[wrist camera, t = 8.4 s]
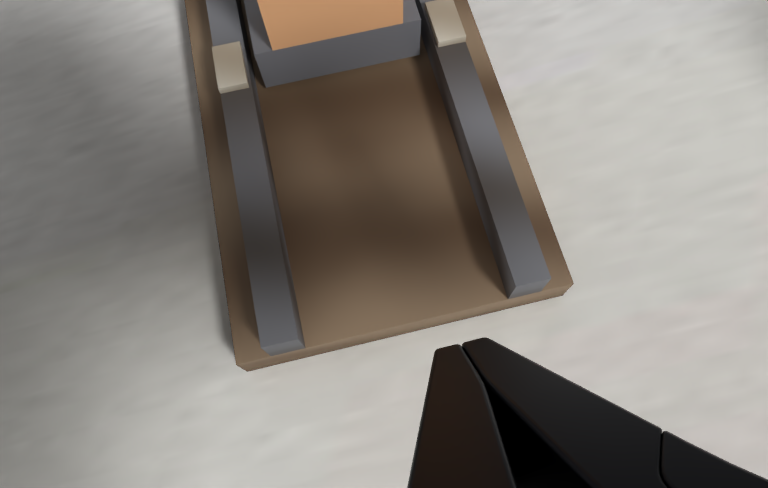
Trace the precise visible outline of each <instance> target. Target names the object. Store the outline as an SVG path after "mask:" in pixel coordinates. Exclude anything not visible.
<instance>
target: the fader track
mask: <svg viewBox="0 0 768 488" xmlns="http://www.w3.org/2000/svg"><path fill="white" fill-rule="evenodd" d="M415 3H416V6H417V9H418V12H419V15H420V18H421V34H420V55H417V56H412V57H408V58H403V59H398V60H394V61H389V62H384V63H380V64H375V65H370V66H366V67H361V68H356V69H352V70H347V71H342V72H337V73H333V74H328V75H323V76H319V77H314V78H309V79H305V80H300V81H295V82H291V83H286V84H281V85H277V86H272V87H267V88H266V86H265V84H264V81H263V78H262V75H261V72H260V70H259V67H258V64H257V61H256V59H255V56H254V52H253V46H252V41H251V36H250V30H249V25H248V20H247V15H246V9H245V4H244V0H185V6H186V13H187V20H188V27H189V34H190V41H191V48H192V55H193V62H194V70H195V77H196V84H197V91H198V98H199V105H200V112H201V119H202V126H203V133H204V140H205V148H206V155H207V162H208V169H209V176H210V183H211V190H212V197H213V204H214V211H215V218H216V225H217V233H218V240H219V247H220V254H221V261H222V268H223V275H224V282H225V289H226V296H227V303H228V310H229V318H230V325H231V332H232V339H233V346H234V353H235V360H236V365H237V366H239V367H241V368H242V369H244V370H246V371H252V370H256V369H260V368H264V367H268V366H272V365H276V364H281V363H285V362H289V361H293V360H297V359H301V358H305V357H309V356H314V355H318V354H322V353H326V352H330V351H334V350H338V349H343V348H347V347H351V346H355V345H359V344H363V343H367V342H372V341H376V340H380V339H384V338H388V337H392V336H396V335H401V334H405V333H409V332H413V331H417V330H421V329H425V328H429V327H434V326H438V325H442V324H446V323H450V322H454V321H458V320H463V319H467V318H471V317H475V316H479V315H483V314H487V313H492V312H496V311H500V310H504V309H508V308H512V307H516V306H520V305H525V304H529V303H533V302H537V301H541V300H545V299H549V298H554V297H558V296H562V295H563V294H564V293H565V292H566V291H567V290H568V289H569V288H570V287H571V286H572V285H573V284H574V283H573V280H572V278H571V275H570V272H569V270H568V267H567V264H566V262H565V259H564V257H563V254H562V251H561V249H560V246H559V243H558V241H557V238H556V235H555V233H554V230H553V227H552V225H551V222H550V219H549V217H548V214H547V211H546V209H545V206H544V203H543V201H542V198H541V195H540V193H539V190H538V187H537V185H536V182H535V179H534V177H533V174H532V171H531V169H530V166H529V163H528V161H527V158H526V155H525V153H524V150H523V147H522V145H521V142H520V139H519V137H518V134H517V132H516V129H515V126H514V124H513V121H512V118H511V116H510V113H509V110H508V108H507V105H506V102H505V100H504V97H503V94H502V92H501V89H500V86H499V84H498V81H497V78H496V76H495V73H494V70H493V68H492V65H491V62H490V60H489V57H488V54H487V52H486V49H485V46H484V44H483V41H482V38H481V36H480V33H479V30H478V28H477V25H476V22H475V20H474V17H473V15H472V12H471V9H470V7H469V4H468V1H467V0H415Z"/></svg>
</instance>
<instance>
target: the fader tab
mask: <svg viewBox="0 0 768 488" xmlns="http://www.w3.org/2000/svg"><path fill="white" fill-rule="evenodd" d="M244 4H245V9H246V15H247V20H248V25H249V30H250V36H251V41H252V46H253V52H254V56H255V59H256V61H257V64H258V67H259V70H260V72H261V75H262V78H263V81H264V84H265V86H266V88H267V87H272V86H277V85H281V84H286V83H291V82H295V81H300V80H305V79H309V78H314V77H319V76H323V75H328V74H333V73H337V72H342V71H347V70H352V69H356V68H361V67H366V66H370V65H375V64H380V63H384V62H389V61H394V60H398V59H403V58H408V57H412V56H417V55H420V34H421V18H420V15H419V12H418V9H417V6H416V3H415V0H244Z"/></svg>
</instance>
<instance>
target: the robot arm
mask: <svg viewBox="0 0 768 488" xmlns="http://www.w3.org/2000/svg"><path fill="white" fill-rule="evenodd" d="M407 488H768V480H767V479H765V478H763V477H761V476H758V475H756V474H754V473H752V472H749V471H747V470H745V469H743V468H740V467H738V466H736V465H734V464H731V463H729V462H727V461H725V460H723V459H721V458H719V457H717V456H715V455H713V454H711V453H709V452H707V451H705V450H703V449H701V448H699V447H697V446H695V445H693V444H691V443H689V442H687V441H685V440H683V439H681V438H679V437H677V436H675V435H673V434H672V433H670V432H668V431H664V432H663V433H662V429H661V428H660V427H658V426H656V425H654V424H652V423H650V422H648V421H646V420H644V419H642V418H640V417H638V416H637V415H635V414H633V413H631V412H629V411H627V410H625V409H623V408H621V407H619V406H617V405H615V404H614V403H612V402H610V401H608V400H606V399H604V398H602V397H600V396H598V395H596V394H594V393H592V392H590V391H589V390H587V389H585V388H583V387H581V386H579V385H577V384H575V383H573V382H571V381H569V380H567V379H566V378H564V377H562V376H560V375H558V374H556V373H554V372H552V371H550V370H548V369H546V368H544V367H543V366H541V365H539V364H537V363H535V362H533V361H531V360H529V359H527V358H525V357H523V356H521V355H519V354H518V353H516V352H514V351H512V350H510V349H508V348H506V347H504V346H502V345H500V344H498V343H496V342H495V341H493V340H491V339H489V338H480V339H476V340H472V341H468V342H465V343H463V344H462V347H461V346H460V345H458V344H456V345H452V346H447V347H443V348H439V349H437V350H436V351H435V353H434V357H433V362H432V367H431V372H430V377H429V382H428V387H427V392H426V397H425V402H424V407H423V412H422V417H421V422H420V427H419V432H418V437H417V442H416V447H415V452H414V457H413V462H412V467H411V472H410V477H409V482H408V486H407Z"/></svg>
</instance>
